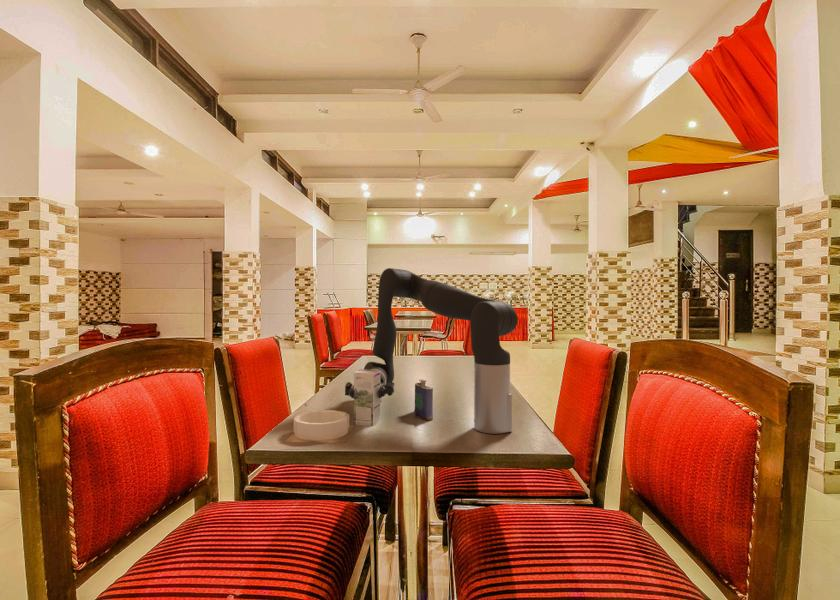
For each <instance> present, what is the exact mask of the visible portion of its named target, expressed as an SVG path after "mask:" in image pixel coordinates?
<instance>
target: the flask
mask: <svg viewBox="0 0 840 600" xmlns="http://www.w3.org/2000/svg"><path fill="white" fill-rule="evenodd" d="M426 382H427V380H426V379H421V378H420V379H419V382H416V383H414V410H413V413H414V414H415V416H416V417H417V416H418V418H419V417H420V418H419V419H421V418H422V420H423V419H425V420H424V421H427V420H430V421H433V420H434V418H433V417H434V412H433V409H434V408H433V407H434V406H433V399H434V397H433V396H434V393H433V392H434V389H433V387H430V386H427V385H426Z"/></svg>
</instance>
